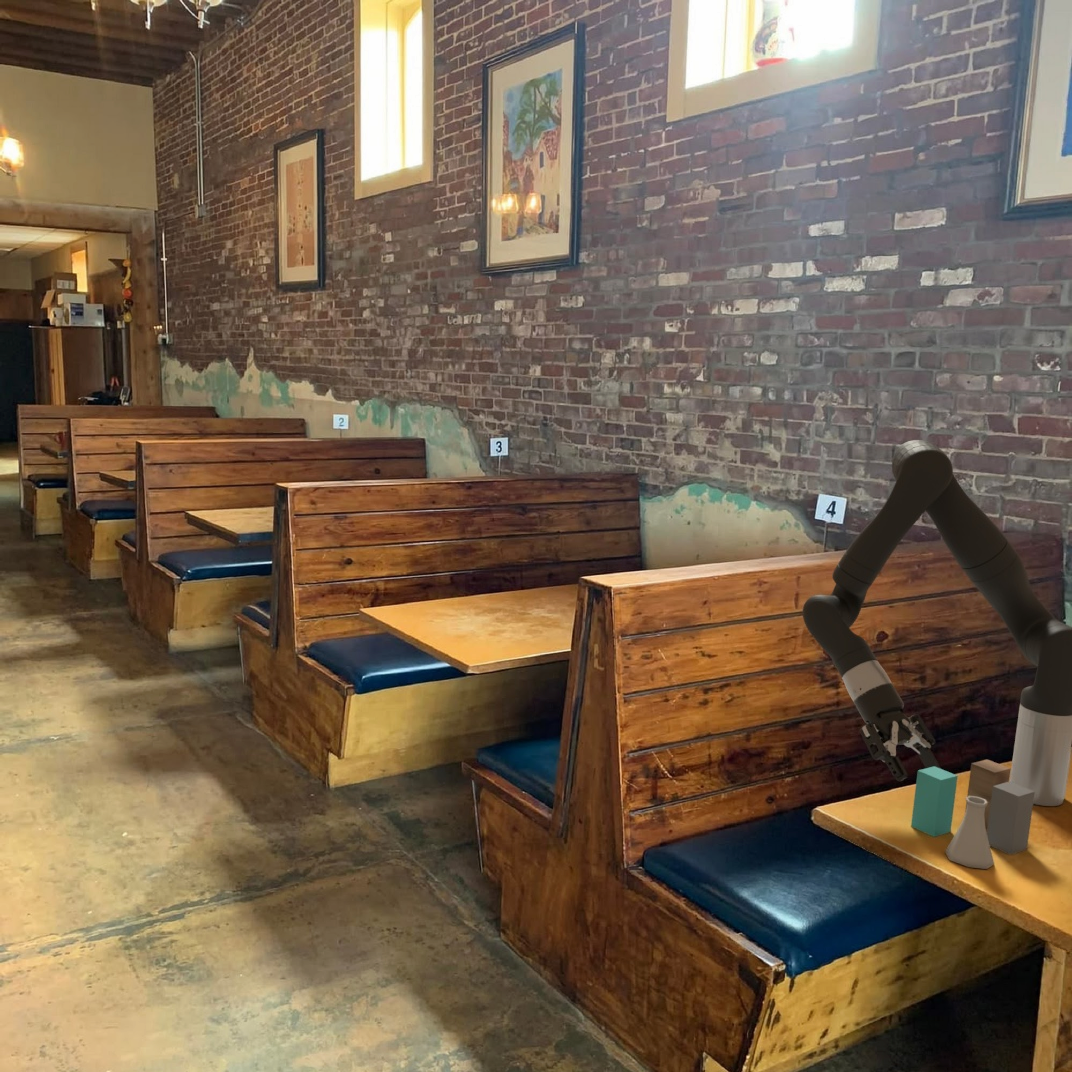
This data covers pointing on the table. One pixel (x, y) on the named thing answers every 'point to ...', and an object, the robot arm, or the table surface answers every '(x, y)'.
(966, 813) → the flask
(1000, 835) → the charcoal post
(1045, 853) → the table surface
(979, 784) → the walnut post
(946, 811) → the teal post
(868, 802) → the table surface
